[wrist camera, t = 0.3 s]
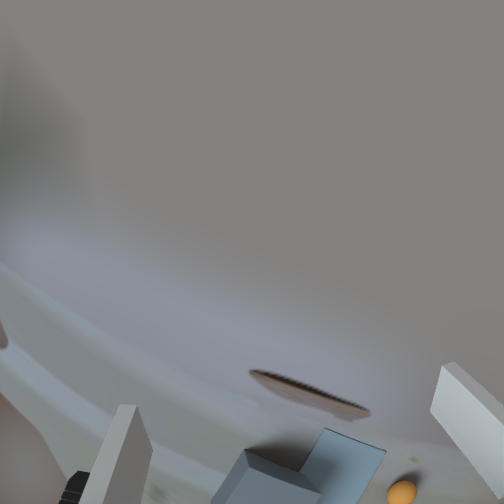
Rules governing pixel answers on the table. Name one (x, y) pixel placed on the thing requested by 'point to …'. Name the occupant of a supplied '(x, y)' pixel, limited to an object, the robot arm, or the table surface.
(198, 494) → the table surface
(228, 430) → the table surface
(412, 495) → the ball
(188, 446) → the table surface
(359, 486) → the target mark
